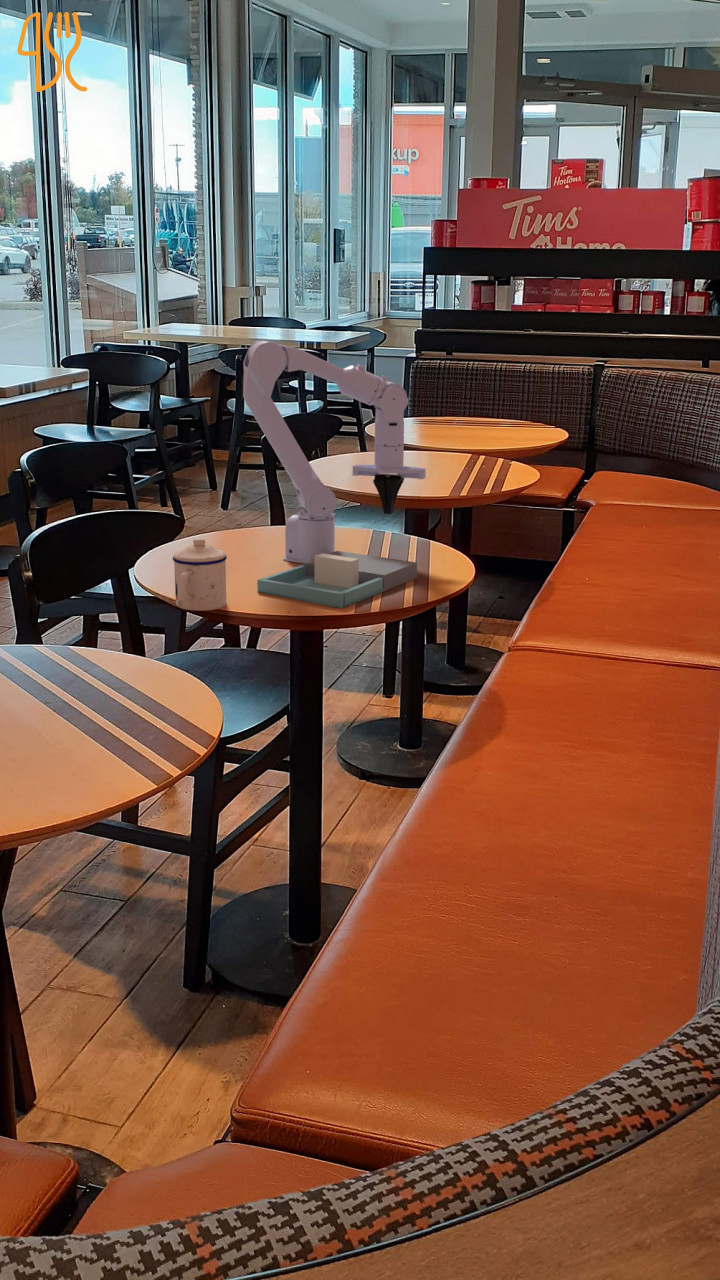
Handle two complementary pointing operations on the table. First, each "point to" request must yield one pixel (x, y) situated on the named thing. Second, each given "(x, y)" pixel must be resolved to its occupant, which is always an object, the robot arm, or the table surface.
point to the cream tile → (336, 570)
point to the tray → (316, 588)
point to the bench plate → (375, 569)
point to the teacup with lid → (200, 577)
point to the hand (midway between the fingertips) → (388, 513)
